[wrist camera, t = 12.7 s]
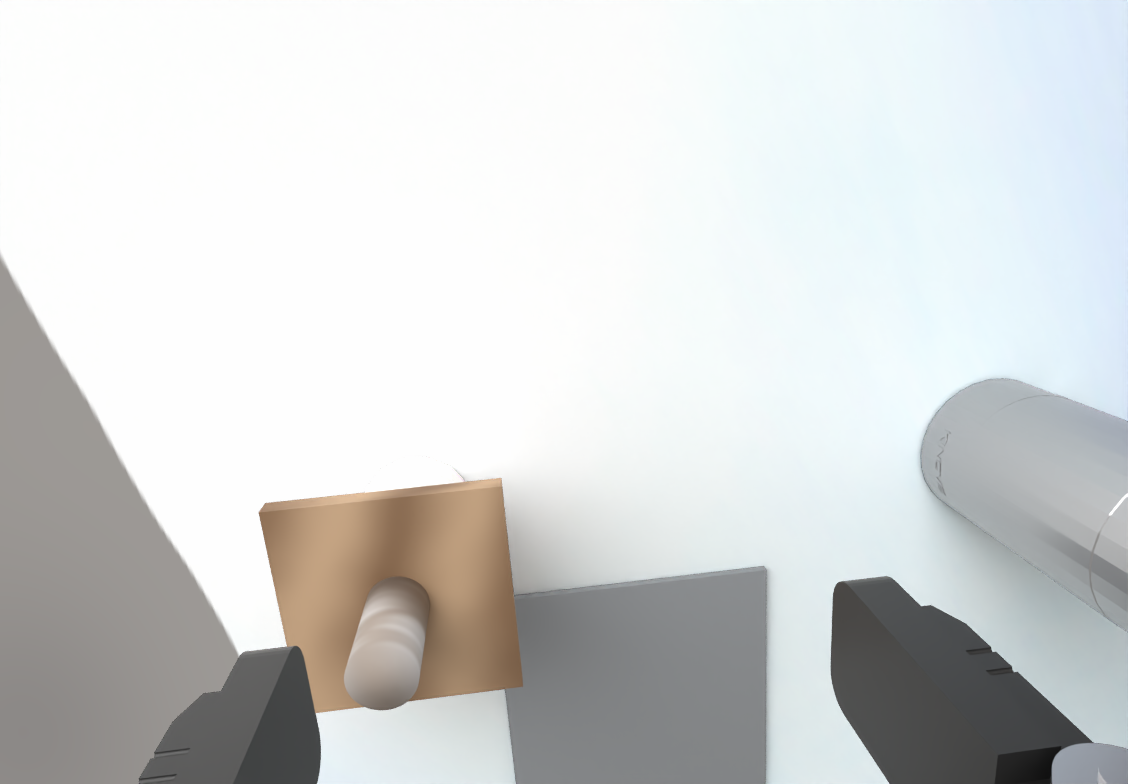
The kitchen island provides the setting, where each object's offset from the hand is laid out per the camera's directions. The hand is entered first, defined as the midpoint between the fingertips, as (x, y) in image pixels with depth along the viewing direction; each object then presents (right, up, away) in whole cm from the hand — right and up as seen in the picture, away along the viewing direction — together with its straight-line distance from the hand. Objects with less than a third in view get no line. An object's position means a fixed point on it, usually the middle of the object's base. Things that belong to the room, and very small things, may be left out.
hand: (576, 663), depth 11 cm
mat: (+5, -17, +40) cm, 44 cm away
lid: (-8, -6, +25) cm, 27 cm away
